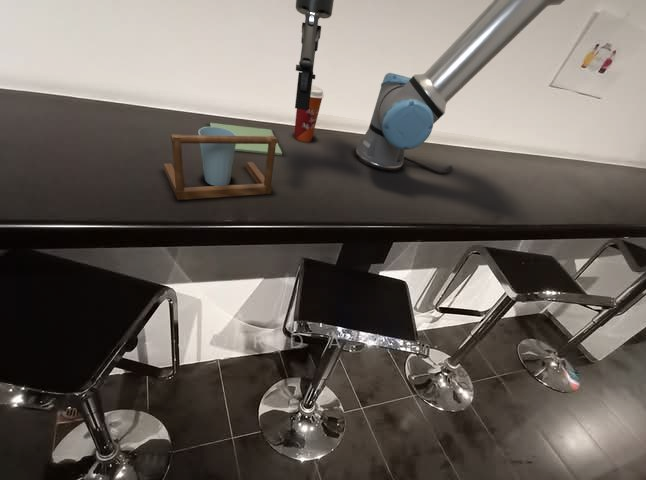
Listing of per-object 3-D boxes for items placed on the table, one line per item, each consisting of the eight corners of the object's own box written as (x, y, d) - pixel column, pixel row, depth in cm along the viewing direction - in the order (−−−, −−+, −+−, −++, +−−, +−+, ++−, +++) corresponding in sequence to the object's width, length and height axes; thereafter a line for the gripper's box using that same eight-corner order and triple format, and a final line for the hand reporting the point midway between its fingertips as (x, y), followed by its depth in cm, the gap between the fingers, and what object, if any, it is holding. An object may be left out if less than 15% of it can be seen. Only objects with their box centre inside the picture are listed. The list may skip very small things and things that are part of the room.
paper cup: (306, 145, 103) (315, 94, 94) (285, 135, 105) (293, 84, 96) (319, 139, 109) (329, 91, 99) (299, 130, 111) (307, 82, 101)
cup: (231, 192, 76) (232, 145, 68) (195, 184, 75) (193, 136, 68) (237, 177, 81) (239, 131, 74) (205, 170, 80) (203, 123, 73)
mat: (271, 131, 105) (271, 129, 105) (282, 155, 95) (282, 153, 94) (209, 124, 99) (209, 122, 98) (214, 149, 89) (214, 146, 88)
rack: (252, 168, 86) (256, 115, 77) (271, 193, 79) (278, 138, 70) (164, 171, 76) (157, 110, 67) (177, 200, 69) (172, 136, 61)
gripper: (300, 1, 79) (289, 106, 89) (294, -38, 57) (281, 106, 67) (332, 8, 79) (318, 111, 90) (338, -29, 58) (318, 112, 68)
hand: (302, 109), depth 79 cm, fingers open, 13 cm apart
